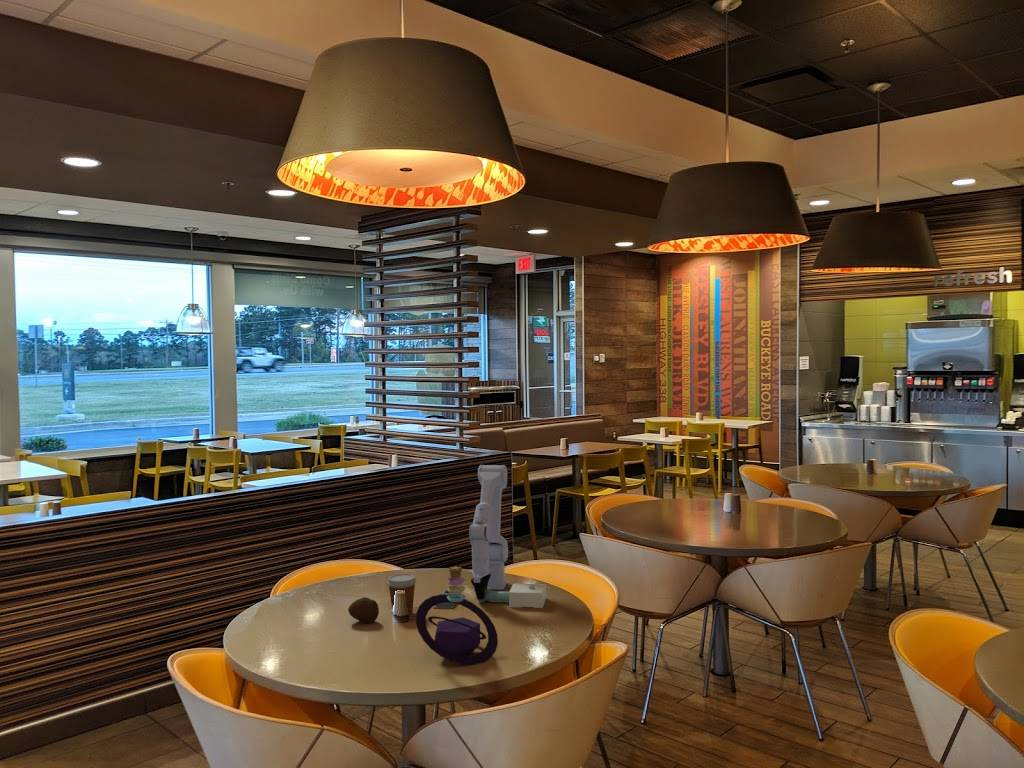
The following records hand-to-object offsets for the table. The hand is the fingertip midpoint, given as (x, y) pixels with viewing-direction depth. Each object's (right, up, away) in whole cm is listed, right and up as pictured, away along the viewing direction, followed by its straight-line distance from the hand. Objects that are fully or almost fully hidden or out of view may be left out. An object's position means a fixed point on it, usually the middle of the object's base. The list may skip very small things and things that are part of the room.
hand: (481, 597), depth 270 cm
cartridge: (+7, -1, -1) cm, 7 cm away
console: (-12, -2, +1) cm, 12 cm away
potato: (-37, -3, -17) cm, 41 cm away
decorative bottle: (-5, -4, -47) cm, 47 cm away
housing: (+15, -1, -2) cm, 15 cm away
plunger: (-11, -1, +5) cm, 12 cm away
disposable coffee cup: (-26, -3, -10) cm, 28 cm away
